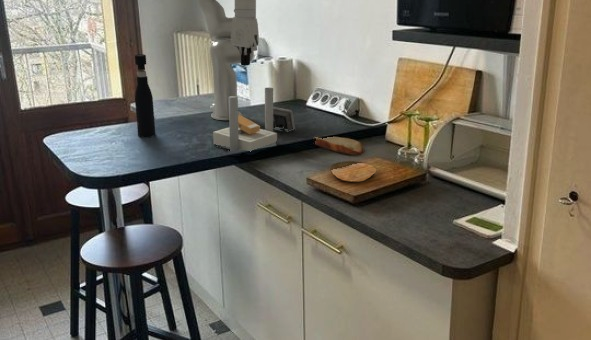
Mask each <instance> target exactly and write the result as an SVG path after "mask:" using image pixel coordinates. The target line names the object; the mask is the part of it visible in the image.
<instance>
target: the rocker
mask: <svg viewBox="0 0 591 340" xmlns="http://www.w3.org/2000/svg"><path fill="white" fill-rule="evenodd" d="M238 128H240V129H241V130H243V131H245V132H247V133H248V134H252V133H255V132H258V131H260V129H261V125H259V124H258V123H256V122H254V121H252V120H250V119H249V118H247V117H244V115H242V114H241V115H238Z"/></svg>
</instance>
